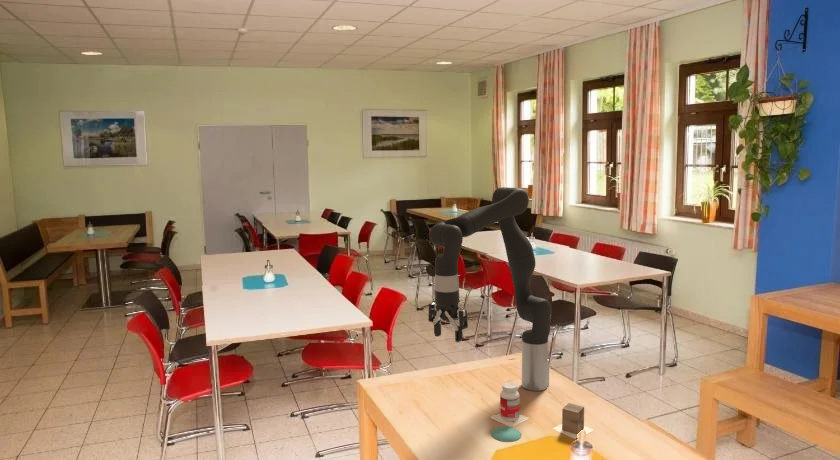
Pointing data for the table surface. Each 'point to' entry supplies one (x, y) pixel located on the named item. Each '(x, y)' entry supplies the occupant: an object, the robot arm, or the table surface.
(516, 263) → the robot arm
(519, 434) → the coaster
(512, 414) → the pill bottle
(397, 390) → the table surface
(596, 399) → the table surface
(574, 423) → the walnut block
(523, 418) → the card
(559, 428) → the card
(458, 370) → the table surface
